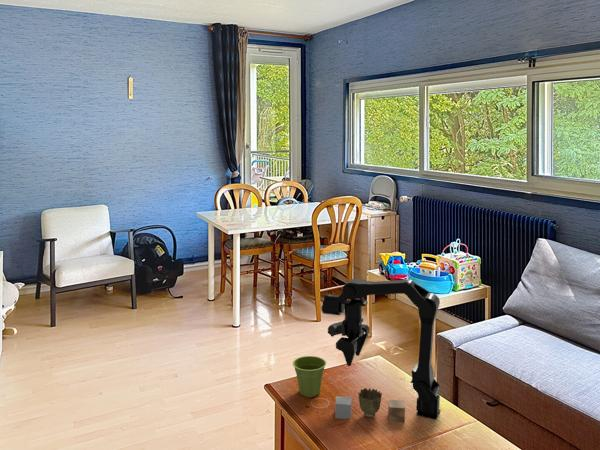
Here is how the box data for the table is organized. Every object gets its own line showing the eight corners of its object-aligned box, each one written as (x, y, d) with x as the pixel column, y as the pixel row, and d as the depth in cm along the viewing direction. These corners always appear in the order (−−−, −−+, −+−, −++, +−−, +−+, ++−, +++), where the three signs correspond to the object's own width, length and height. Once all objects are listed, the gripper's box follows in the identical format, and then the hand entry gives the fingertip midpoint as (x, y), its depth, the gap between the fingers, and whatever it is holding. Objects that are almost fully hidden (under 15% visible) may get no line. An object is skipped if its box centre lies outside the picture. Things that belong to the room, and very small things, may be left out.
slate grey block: (351, 411, 174) (351, 397, 173) (350, 419, 169) (350, 404, 168) (336, 410, 175) (336, 396, 174) (335, 418, 170) (335, 403, 169)
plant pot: (287, 389, 190) (287, 359, 188) (316, 382, 195) (316, 353, 193) (302, 403, 179) (302, 372, 177) (332, 396, 184) (332, 365, 183)
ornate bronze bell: (375, 424, 166) (375, 400, 165) (354, 418, 170) (354, 395, 168) (384, 414, 172) (385, 391, 171) (364, 408, 176) (364, 385, 175)
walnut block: (403, 414, 172) (404, 400, 171) (404, 422, 167) (405, 408, 166) (388, 413, 173) (388, 399, 172) (388, 421, 168) (389, 407, 167)
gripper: (339, 306, 190) (340, 347, 192) (320, 322, 173) (321, 367, 175) (369, 309, 185) (369, 351, 187) (353, 326, 168) (353, 373, 171)
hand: (353, 360), depth 180 cm, fingers open, 9 cm apart
